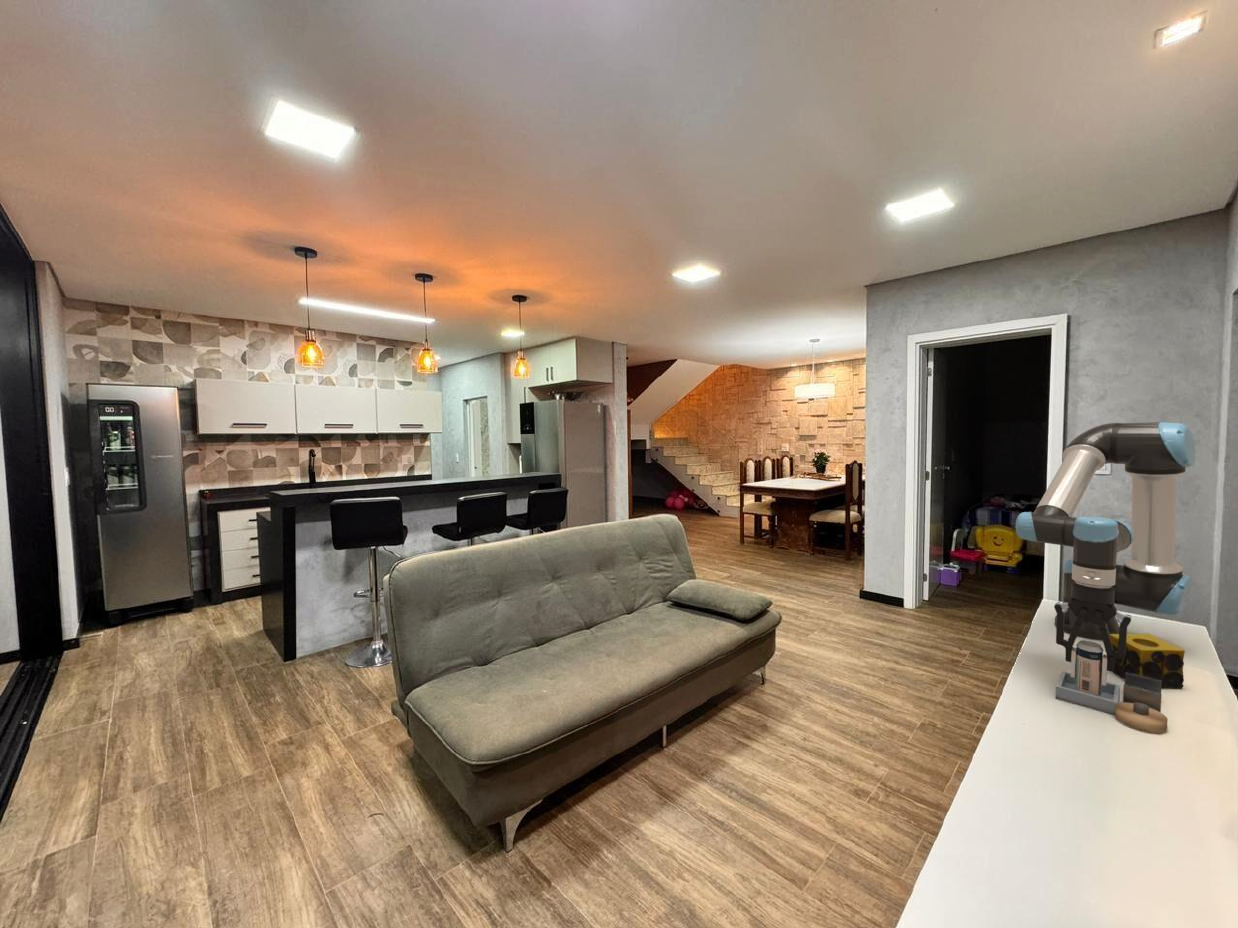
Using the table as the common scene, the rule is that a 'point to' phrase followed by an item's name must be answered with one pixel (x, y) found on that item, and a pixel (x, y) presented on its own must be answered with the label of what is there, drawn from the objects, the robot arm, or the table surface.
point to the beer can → (1089, 667)
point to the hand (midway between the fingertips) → (1088, 678)
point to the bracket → (1142, 690)
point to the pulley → (1141, 717)
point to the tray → (1100, 703)
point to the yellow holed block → (1150, 659)
